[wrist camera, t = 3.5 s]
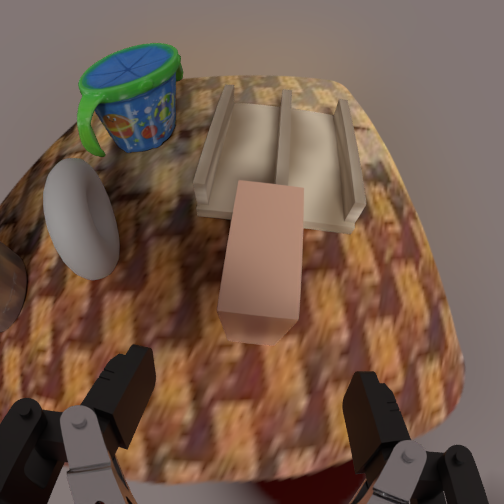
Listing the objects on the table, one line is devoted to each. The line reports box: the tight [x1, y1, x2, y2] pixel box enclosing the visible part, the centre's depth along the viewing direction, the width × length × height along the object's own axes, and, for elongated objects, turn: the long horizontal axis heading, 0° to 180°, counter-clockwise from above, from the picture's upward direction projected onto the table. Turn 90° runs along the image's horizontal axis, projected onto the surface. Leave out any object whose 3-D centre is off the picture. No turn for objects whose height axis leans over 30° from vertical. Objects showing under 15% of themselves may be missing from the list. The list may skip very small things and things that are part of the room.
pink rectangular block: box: [217, 180, 304, 346], centre depth 18 cm, size 4×7×10 cm, turn 174°
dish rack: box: [193, 85, 366, 234], centre depth 27 cm, size 14×16×4 cm
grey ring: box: [43, 158, 120, 280], centre depth 19 cm, size 10×4×10 cm, turn 21°
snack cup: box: [77, 43, 183, 157], centre depth 26 cm, size 16×10×10 cm
